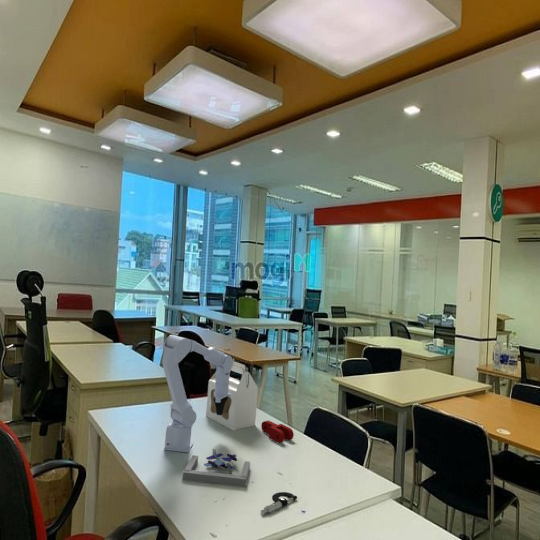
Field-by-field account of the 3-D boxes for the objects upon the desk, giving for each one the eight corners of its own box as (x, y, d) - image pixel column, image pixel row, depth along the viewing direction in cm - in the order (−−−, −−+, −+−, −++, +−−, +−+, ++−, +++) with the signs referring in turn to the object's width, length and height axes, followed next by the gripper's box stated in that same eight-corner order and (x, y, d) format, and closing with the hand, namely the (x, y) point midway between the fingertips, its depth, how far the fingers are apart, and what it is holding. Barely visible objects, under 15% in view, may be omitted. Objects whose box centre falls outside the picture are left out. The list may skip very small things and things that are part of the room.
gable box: (205, 415, 194) (210, 358, 195) (227, 411, 203) (231, 356, 204) (233, 431, 178) (238, 367, 179) (255, 425, 187) (260, 365, 188)
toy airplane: (240, 480, 135) (241, 469, 135) (200, 476, 136) (201, 465, 136) (245, 463, 148) (246, 453, 148) (208, 459, 149) (209, 449, 149)
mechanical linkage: (293, 441, 172) (294, 429, 172) (280, 444, 168) (281, 433, 168) (268, 429, 184) (269, 418, 184) (256, 431, 180) (257, 420, 180)
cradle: (182, 479, 132) (182, 472, 132) (192, 462, 145) (192, 455, 145) (245, 487, 131) (245, 479, 131) (249, 468, 144) (250, 461, 144)
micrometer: (283, 491, 131) (283, 483, 131) (299, 501, 126) (299, 493, 126) (248, 506, 121) (248, 498, 121) (264, 518, 115) (264, 509, 116)
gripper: (228, 388, 163) (225, 421, 163) (233, 379, 177) (231, 410, 177) (211, 386, 163) (208, 419, 163) (218, 377, 178) (215, 408, 178)
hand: (219, 414), depth 170 cm, fingers closed
